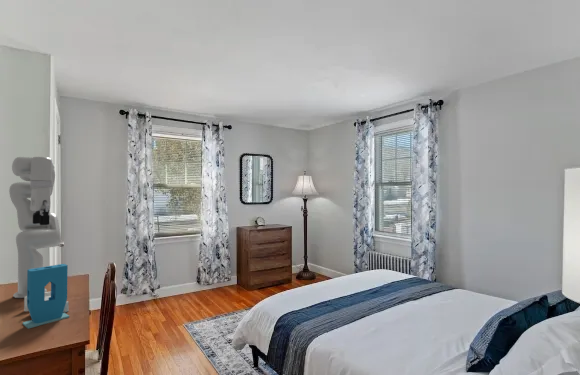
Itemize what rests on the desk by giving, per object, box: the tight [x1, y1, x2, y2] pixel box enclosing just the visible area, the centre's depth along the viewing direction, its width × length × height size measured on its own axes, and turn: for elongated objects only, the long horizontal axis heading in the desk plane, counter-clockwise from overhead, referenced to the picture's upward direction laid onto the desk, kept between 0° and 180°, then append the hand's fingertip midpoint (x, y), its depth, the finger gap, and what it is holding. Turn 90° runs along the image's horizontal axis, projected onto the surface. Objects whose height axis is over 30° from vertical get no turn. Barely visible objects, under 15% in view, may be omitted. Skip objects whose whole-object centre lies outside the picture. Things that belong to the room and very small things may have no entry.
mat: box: [22, 312, 70, 329], centre depth 121 cm, size 7×13×1 cm, turn 143°
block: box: [27, 263, 68, 323], centre depth 122 cm, size 12×5×20 cm, turn 144°
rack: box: [23, 290, 70, 317], centre depth 131 cm, size 16×11×6 cm
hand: (40, 224), depth 136 cm, fingers open, 9 cm apart
